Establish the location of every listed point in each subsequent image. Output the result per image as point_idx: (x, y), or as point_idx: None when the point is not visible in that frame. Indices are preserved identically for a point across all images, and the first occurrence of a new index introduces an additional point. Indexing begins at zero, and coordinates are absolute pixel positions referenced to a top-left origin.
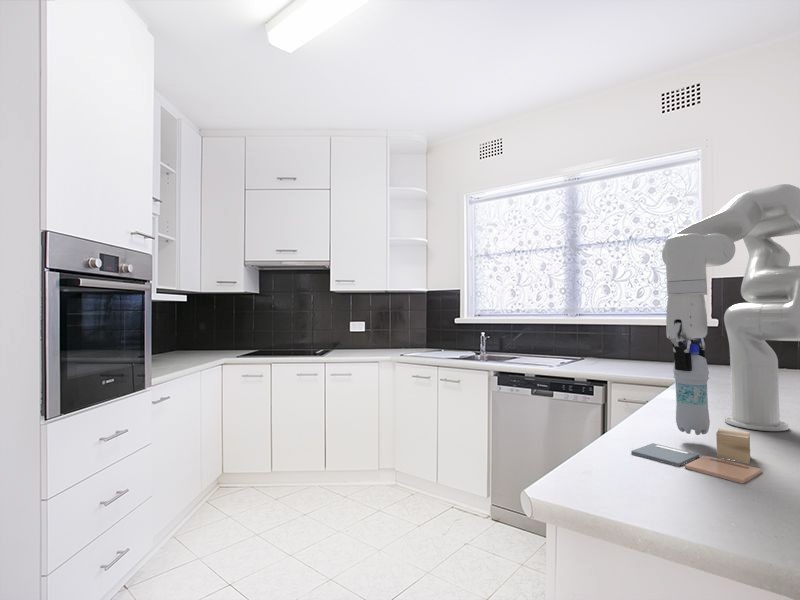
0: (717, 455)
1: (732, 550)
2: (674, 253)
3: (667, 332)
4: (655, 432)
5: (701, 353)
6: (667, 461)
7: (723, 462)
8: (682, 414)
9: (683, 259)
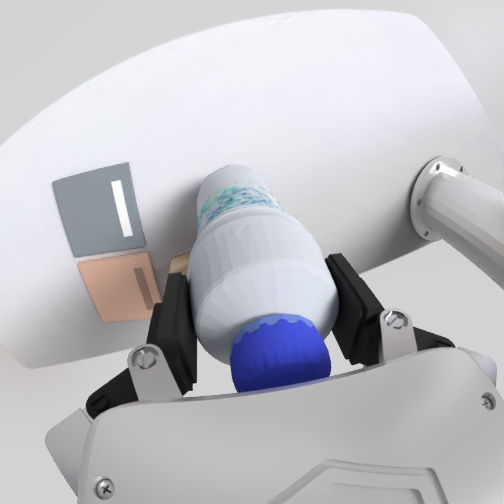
0: (171, 261)
1: (9, 350)
2: None
3: (83, 456)
4: (243, 97)
5: (342, 346)
6: (69, 240)
7: (139, 285)
8: (197, 206)
9: None
